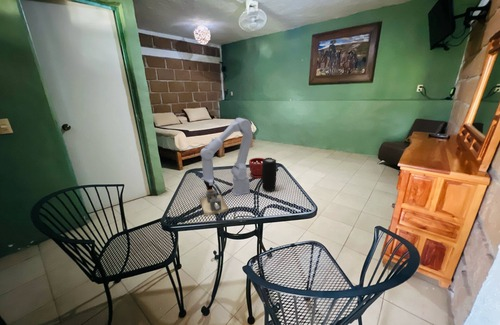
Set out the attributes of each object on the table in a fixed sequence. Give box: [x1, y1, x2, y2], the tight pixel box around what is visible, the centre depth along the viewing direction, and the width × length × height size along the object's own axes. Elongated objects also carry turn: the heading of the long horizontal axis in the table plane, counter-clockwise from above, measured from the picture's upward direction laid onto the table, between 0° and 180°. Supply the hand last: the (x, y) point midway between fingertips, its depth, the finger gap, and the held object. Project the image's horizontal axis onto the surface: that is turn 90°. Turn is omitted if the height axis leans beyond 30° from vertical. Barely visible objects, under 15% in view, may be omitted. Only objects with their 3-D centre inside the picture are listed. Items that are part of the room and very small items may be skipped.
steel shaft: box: [206, 188, 219, 209], centre depth 106 cm, size 4×18×4 cm, turn 22°
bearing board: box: [199, 189, 229, 217], centre depth 107 cm, size 12×16×7 cm
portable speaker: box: [261, 157, 277, 193], centre depth 123 cm, size 9×9×20 cm
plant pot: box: [248, 157, 265, 179], centre depth 145 cm, size 13×13×12 cm
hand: (209, 192), depth 115 cm, fingers closed
